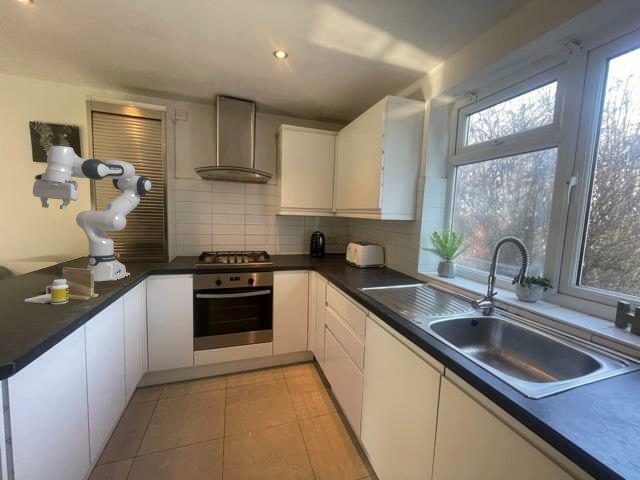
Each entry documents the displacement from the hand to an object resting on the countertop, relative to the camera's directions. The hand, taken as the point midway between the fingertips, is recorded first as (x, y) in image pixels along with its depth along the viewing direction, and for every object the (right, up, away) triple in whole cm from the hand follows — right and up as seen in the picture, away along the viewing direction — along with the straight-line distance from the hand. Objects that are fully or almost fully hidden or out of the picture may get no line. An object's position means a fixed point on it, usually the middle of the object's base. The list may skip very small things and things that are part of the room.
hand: (53, 208), depth 126 cm
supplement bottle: (+12, -42, -10) cm, 45 cm away
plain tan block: (-1, -40, +1) cm, 40 cm away
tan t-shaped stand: (+12, -41, -1) cm, 42 cm away
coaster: (+4, -41, -7) cm, 41 cm away
